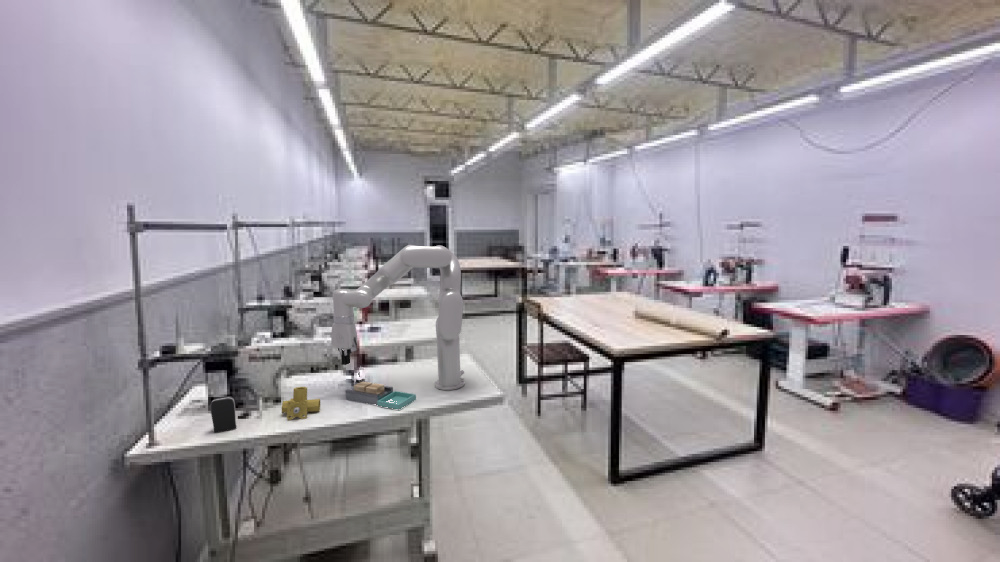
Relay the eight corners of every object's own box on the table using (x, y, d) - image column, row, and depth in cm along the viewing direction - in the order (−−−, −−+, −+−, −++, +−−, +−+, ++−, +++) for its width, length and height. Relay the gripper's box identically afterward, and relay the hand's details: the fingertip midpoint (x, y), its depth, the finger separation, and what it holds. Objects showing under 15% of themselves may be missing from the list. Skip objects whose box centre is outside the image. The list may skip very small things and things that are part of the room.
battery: (238, 424, 156) (234, 393, 154) (236, 429, 152) (233, 397, 151) (214, 429, 153) (211, 397, 151) (213, 433, 149) (209, 401, 148)
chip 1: (362, 387, 181) (362, 381, 181) (372, 388, 179) (372, 382, 179) (354, 391, 177) (353, 385, 176) (364, 393, 175) (363, 387, 174)
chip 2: (374, 389, 179) (374, 383, 178) (384, 390, 177) (384, 384, 176) (366, 393, 174) (365, 387, 174) (376, 395, 172) (375, 389, 172)
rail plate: (362, 391, 185) (361, 382, 184) (393, 396, 178) (392, 387, 178) (346, 399, 176) (345, 390, 176) (378, 405, 170) (377, 395, 169)
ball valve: (284, 414, 166) (277, 422, 156) (285, 386, 166) (278, 393, 156) (320, 412, 169) (315, 420, 159) (321, 385, 169) (316, 391, 159)
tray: (395, 396, 179) (395, 390, 178) (416, 399, 175) (415, 394, 174) (377, 406, 169) (377, 401, 168) (399, 410, 165) (398, 404, 164)
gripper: (322, 320, 177) (325, 364, 179) (351, 323, 171) (353, 369, 173) (336, 316, 184) (338, 359, 186) (365, 319, 178) (366, 363, 180)
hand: (346, 363), depth 179 cm, fingers closed
